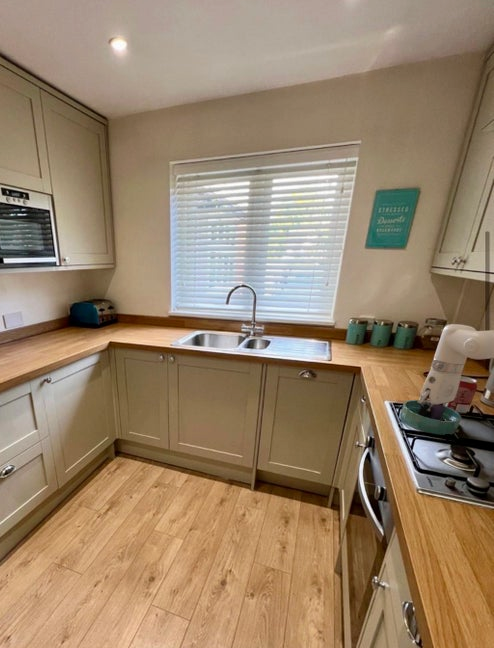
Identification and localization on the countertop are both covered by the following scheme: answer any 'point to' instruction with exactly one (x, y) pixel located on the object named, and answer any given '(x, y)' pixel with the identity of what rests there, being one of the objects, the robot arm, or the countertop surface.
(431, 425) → the bowl
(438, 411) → the snack carton
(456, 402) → the soda can
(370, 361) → the countertop surface
